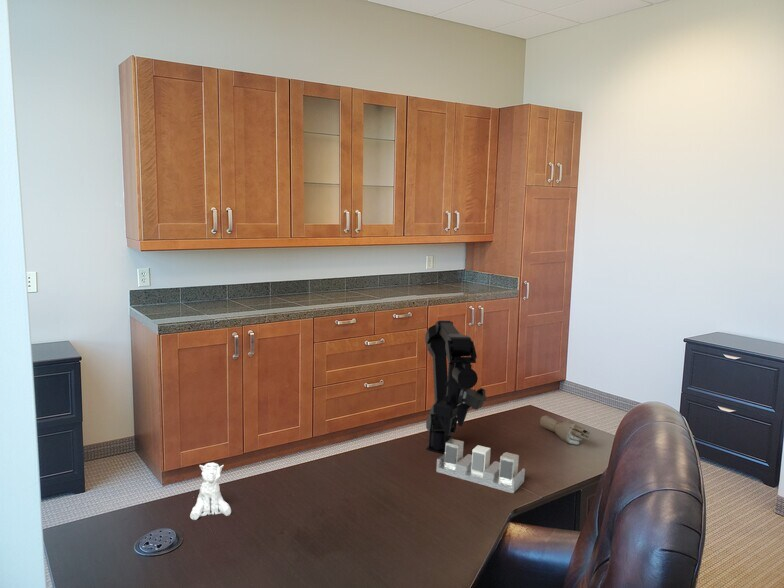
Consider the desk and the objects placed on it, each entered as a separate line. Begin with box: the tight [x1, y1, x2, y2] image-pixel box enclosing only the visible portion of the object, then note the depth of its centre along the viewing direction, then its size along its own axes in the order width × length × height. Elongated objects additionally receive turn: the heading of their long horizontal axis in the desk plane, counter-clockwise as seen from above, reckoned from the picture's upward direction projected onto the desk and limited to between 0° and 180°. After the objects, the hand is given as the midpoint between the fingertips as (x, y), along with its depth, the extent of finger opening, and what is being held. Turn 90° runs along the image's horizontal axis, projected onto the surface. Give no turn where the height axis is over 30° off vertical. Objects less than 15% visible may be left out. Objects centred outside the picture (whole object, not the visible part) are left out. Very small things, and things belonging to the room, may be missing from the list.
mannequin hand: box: [539, 415, 591, 446], centre depth 210 cm, size 7×7×25 cm
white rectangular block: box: [471, 444, 492, 476], centre depth 176 cm, size 4×4×7 cm
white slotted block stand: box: [435, 438, 526, 494], centre depth 176 cm, size 24×9×8 cm, turn 59°
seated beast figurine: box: [189, 462, 232, 521], centre depth 149 cm, size 10×9×12 cm
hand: (454, 430), depth 180 cm, fingers open, 9 cm apart
